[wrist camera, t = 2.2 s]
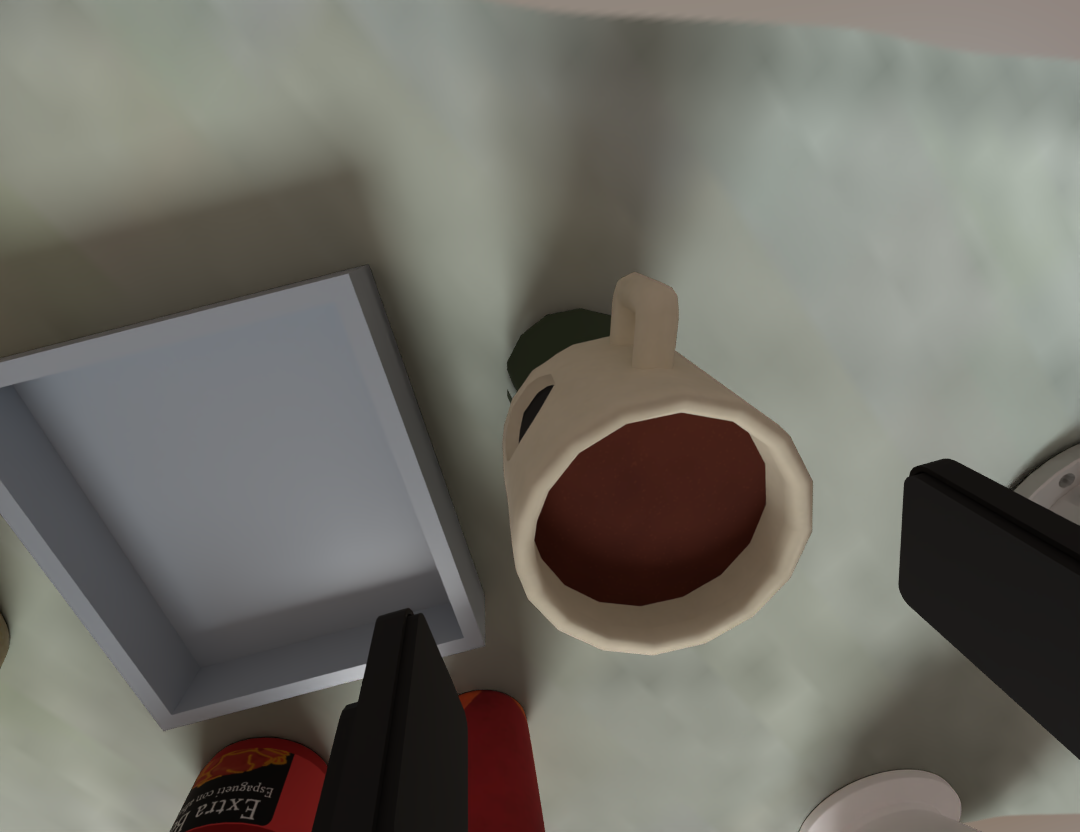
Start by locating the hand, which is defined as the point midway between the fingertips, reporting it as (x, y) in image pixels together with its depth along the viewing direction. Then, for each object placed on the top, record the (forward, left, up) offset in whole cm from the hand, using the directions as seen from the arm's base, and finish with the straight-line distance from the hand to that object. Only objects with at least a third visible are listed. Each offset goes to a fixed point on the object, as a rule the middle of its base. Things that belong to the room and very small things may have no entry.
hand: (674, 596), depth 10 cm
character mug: (-1, 0, -15) cm, 15 cm away
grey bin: (+14, +2, -15) cm, 21 cm away
